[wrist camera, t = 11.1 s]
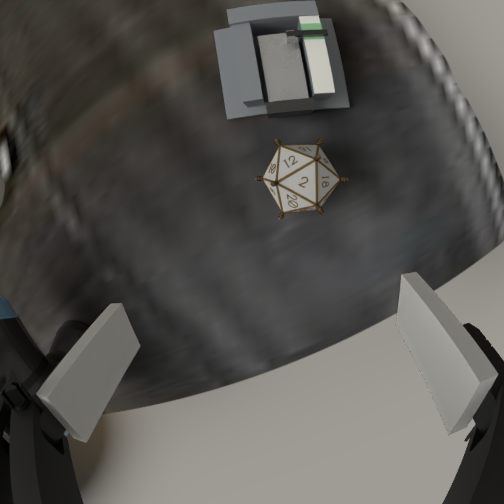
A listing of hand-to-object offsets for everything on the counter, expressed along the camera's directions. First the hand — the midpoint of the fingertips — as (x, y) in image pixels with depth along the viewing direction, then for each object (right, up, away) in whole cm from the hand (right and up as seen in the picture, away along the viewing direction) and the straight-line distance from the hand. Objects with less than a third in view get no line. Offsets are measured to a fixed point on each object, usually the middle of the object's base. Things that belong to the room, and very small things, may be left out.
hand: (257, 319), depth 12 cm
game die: (+5, +12, +20) cm, 24 cm away
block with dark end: (+5, +22, +14) cm, 27 cm away
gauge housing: (+3, +24, +15) cm, 29 cm away
